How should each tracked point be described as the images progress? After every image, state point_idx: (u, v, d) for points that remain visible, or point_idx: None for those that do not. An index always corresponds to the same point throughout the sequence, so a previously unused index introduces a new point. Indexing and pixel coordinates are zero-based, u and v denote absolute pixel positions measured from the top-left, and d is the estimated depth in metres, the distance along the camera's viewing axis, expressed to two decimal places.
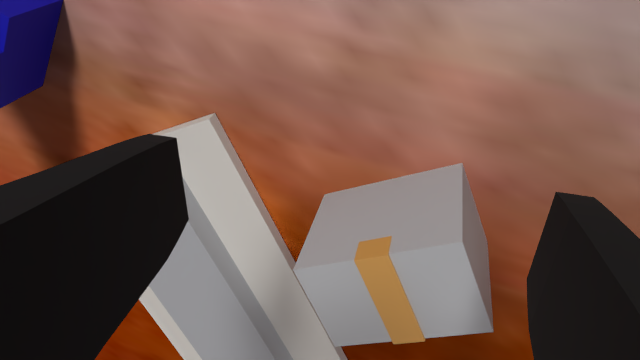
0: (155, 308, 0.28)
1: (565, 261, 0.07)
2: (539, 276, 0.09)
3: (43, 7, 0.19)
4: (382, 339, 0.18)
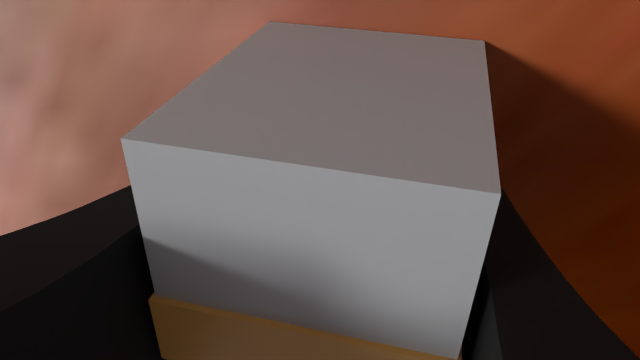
0: None
1: None
2: None
3: None
4: None
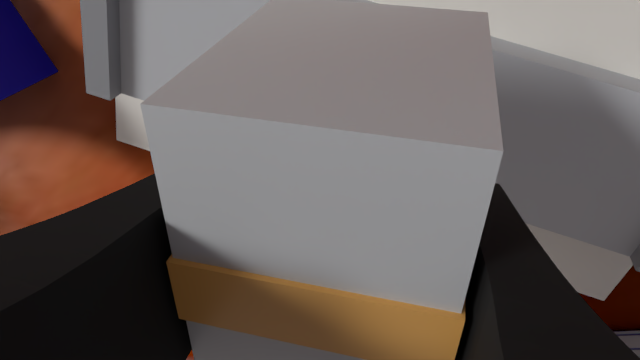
0: None
1: None
2: None
3: None
4: None
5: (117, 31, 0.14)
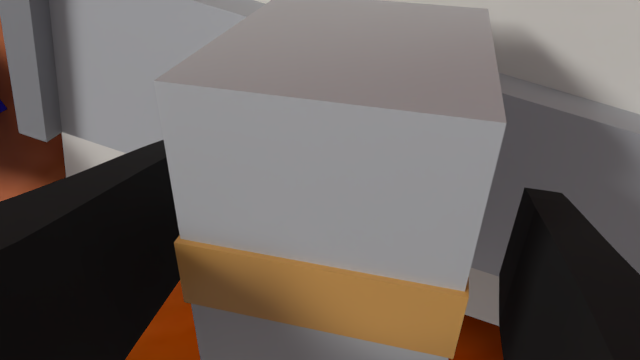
0: None
1: (529, 255, 0.07)
2: (508, 271, 0.09)
3: None
4: None
5: (51, 62, 0.12)
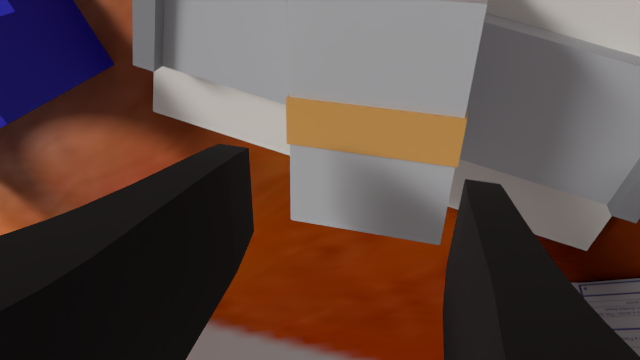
0: None
1: (462, 244, 0.08)
2: (451, 261, 0.09)
3: None
4: (445, 177, 0.12)
5: (162, 10, 0.16)
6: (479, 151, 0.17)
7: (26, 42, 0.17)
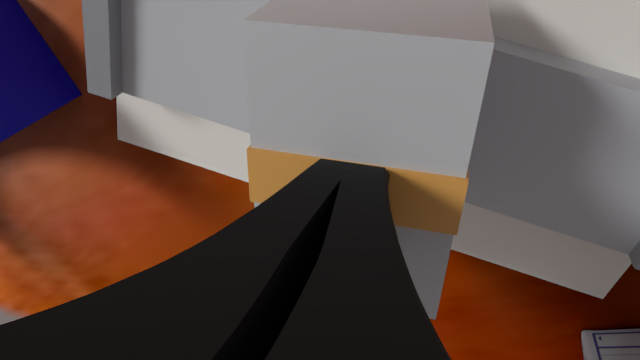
0: None
1: None
2: None
3: None
4: (442, 245, 0.10)
5: (118, 30, 0.14)
6: (482, 192, 0.14)
7: None
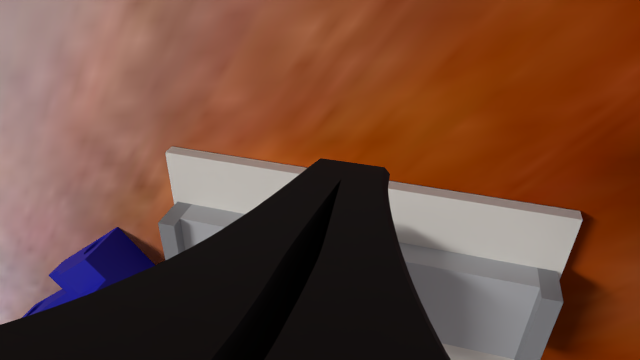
0: None
1: None
2: None
3: (107, 239, 0.27)
4: None
5: None
6: None
7: None
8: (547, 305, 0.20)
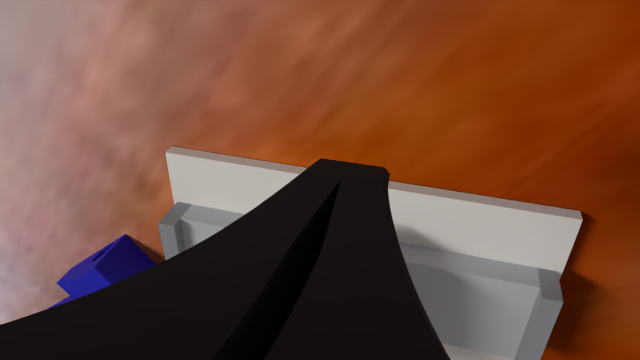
0: None
1: None
2: None
3: (115, 247, 0.27)
4: None
5: None
6: None
7: None
8: (547, 305, 0.20)
